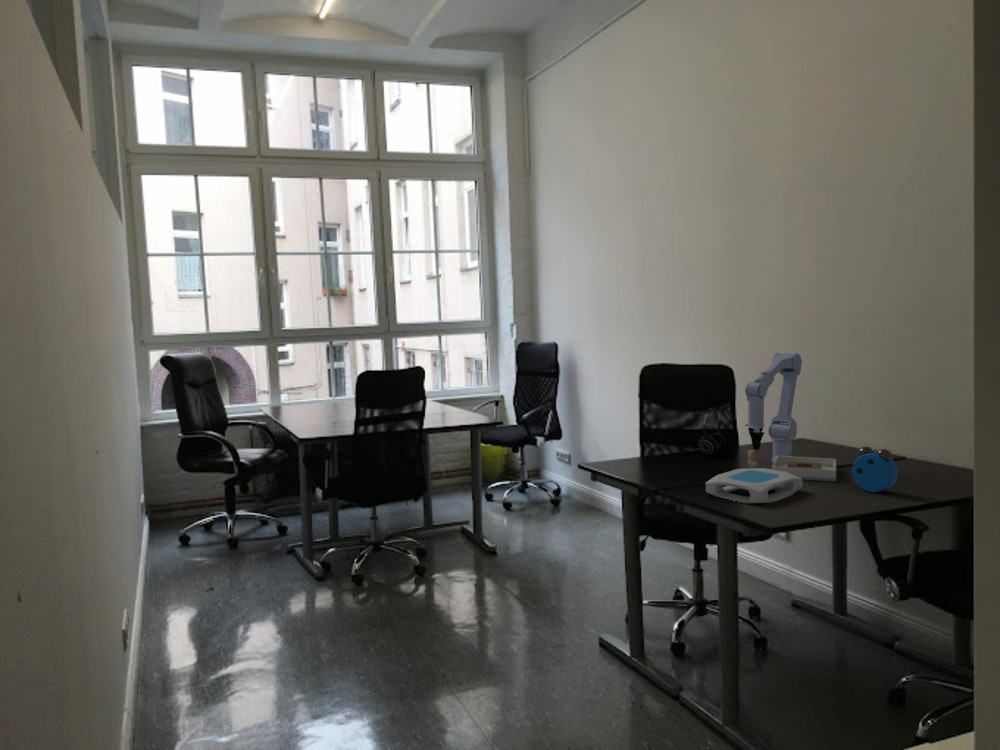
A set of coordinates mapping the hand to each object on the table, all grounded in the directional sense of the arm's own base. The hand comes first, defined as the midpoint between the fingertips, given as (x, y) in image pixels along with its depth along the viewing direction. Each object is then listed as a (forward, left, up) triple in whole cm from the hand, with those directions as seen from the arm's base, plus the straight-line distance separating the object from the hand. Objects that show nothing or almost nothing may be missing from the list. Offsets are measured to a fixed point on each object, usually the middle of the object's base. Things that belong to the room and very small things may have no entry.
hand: (755, 447), depth 306 cm
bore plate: (+2, +18, -8) cm, 20 cm away
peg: (-1, -1, -9) cm, 9 cm away
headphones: (-27, -20, -9) cm, 35 cm away
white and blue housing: (+39, +3, -9) cm, 40 cm away
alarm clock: (+24, +41, -9) cm, 48 cm away
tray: (+2, +18, -8) cm, 20 cm away
